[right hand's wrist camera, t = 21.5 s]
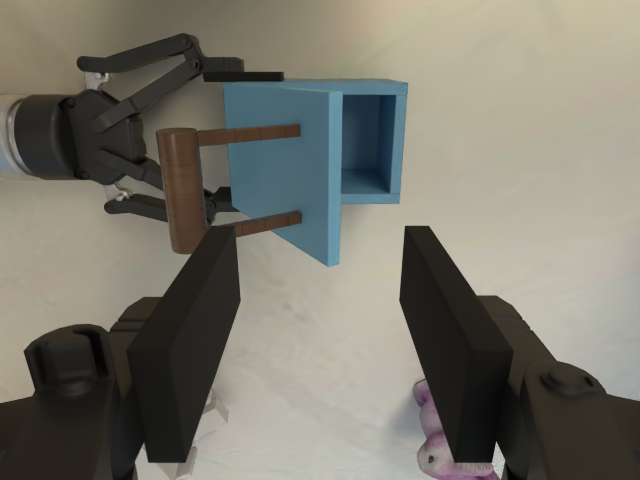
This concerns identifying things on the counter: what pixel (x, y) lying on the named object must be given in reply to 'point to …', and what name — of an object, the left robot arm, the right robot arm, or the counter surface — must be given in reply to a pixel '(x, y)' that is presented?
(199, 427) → the toy
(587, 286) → the counter surface
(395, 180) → the chest
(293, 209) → the lid
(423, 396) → the figurine
